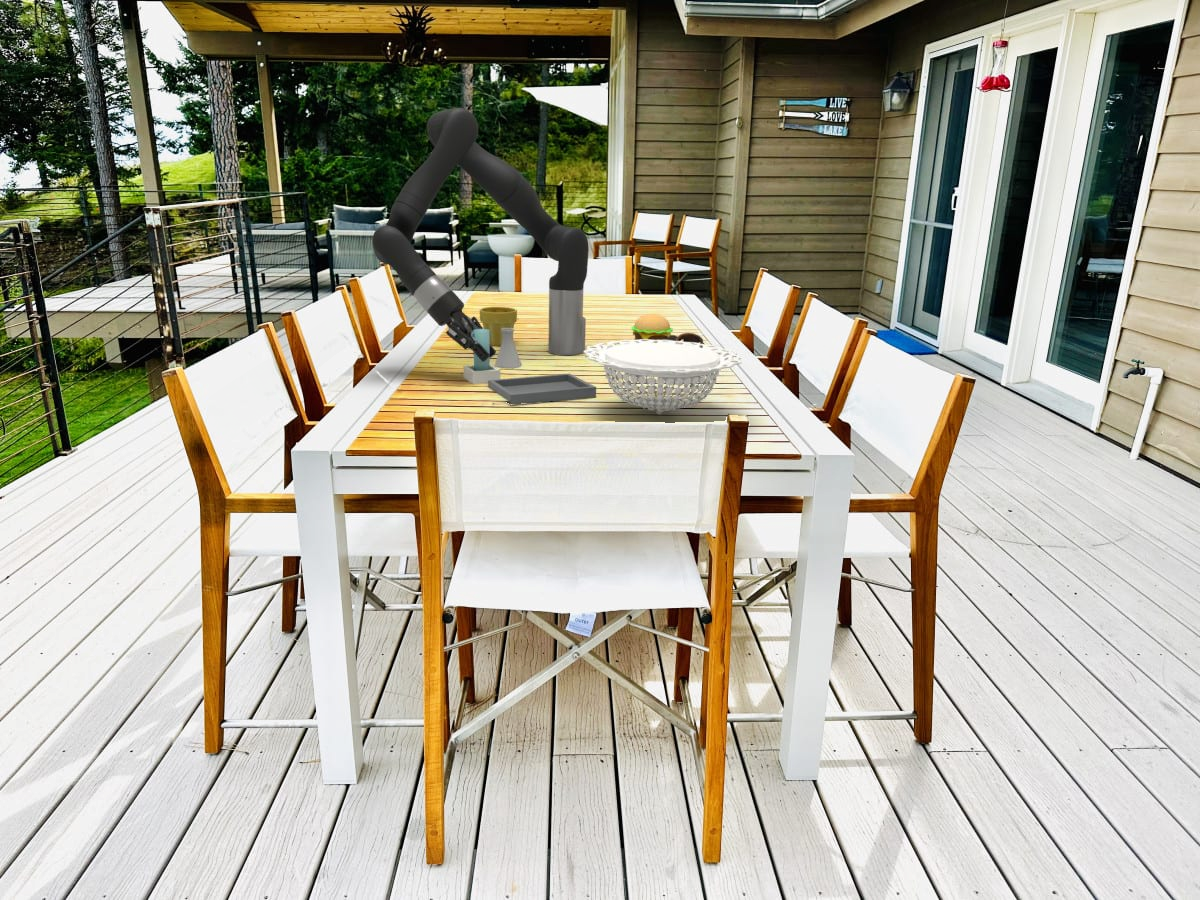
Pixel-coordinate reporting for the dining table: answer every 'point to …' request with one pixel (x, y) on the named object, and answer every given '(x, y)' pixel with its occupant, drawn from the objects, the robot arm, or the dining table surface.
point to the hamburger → (652, 328)
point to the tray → (542, 388)
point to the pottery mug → (687, 338)
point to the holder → (480, 374)
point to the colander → (661, 370)
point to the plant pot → (497, 321)
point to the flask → (507, 351)
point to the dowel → (483, 339)
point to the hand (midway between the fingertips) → (489, 356)
